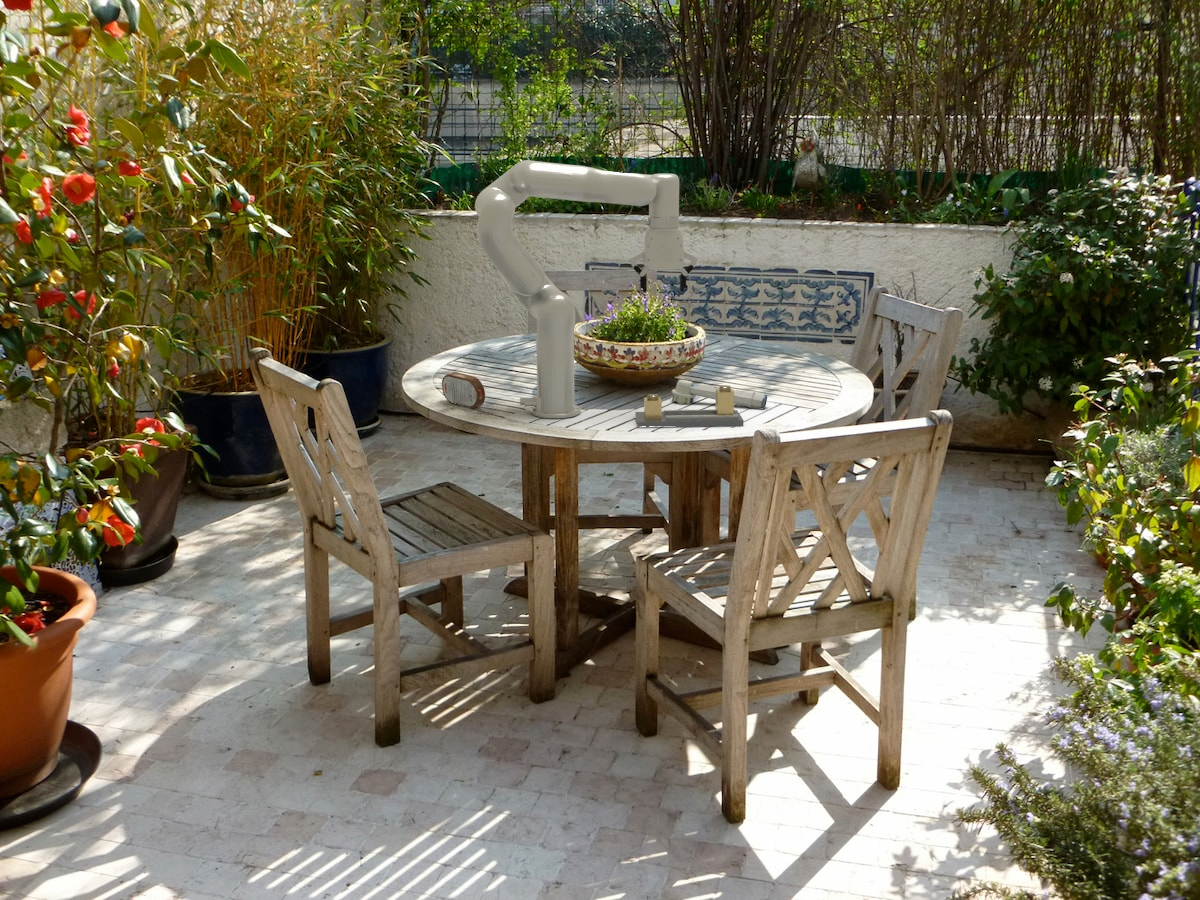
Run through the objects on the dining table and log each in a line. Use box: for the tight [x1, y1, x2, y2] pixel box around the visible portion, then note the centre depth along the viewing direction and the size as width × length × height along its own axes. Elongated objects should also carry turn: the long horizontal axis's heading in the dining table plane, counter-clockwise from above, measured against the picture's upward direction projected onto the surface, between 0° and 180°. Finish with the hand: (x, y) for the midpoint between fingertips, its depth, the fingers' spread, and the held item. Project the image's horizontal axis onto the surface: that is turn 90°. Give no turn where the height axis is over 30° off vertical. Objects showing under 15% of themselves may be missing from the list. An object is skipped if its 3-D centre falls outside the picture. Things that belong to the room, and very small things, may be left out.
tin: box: [441, 371, 486, 409], centre depth 312 cm, size 15×3×8 cm, turn 47°
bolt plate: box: [634, 408, 745, 428], centre depth 295 cm, size 26×10×2 cm, turn 93°
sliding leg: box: [714, 384, 735, 415], centre depth 294 cm, size 4×4×7 cm
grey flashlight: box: [671, 379, 768, 410], centre depth 312 cm, size 5×7×25 cm
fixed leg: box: [643, 393, 663, 419], centre depth 294 cm, size 4×4×6 cm
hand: (663, 291), depth 303 cm, fingers open, 9 cm apart
